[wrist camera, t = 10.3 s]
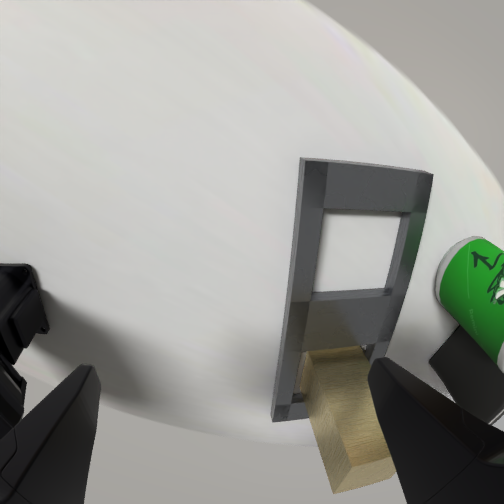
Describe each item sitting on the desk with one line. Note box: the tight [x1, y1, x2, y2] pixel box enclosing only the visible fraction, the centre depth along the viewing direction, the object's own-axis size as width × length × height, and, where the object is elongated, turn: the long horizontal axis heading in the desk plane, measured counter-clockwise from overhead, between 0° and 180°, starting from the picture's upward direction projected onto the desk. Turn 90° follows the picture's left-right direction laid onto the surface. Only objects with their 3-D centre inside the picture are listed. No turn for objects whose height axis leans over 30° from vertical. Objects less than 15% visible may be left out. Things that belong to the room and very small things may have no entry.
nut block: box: [299, 345, 396, 494], centre depth 22 cm, size 5×5×12 cm
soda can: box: [435, 236, 504, 373], centre depth 20 cm, size 8×8×12 cm
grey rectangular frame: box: [270, 157, 434, 422], centre depth 25 cm, size 10×25×1 cm, turn 177°
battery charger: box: [429, 325, 504, 425], centre depth 25 cm, size 7×4×11 cm, turn 146°
